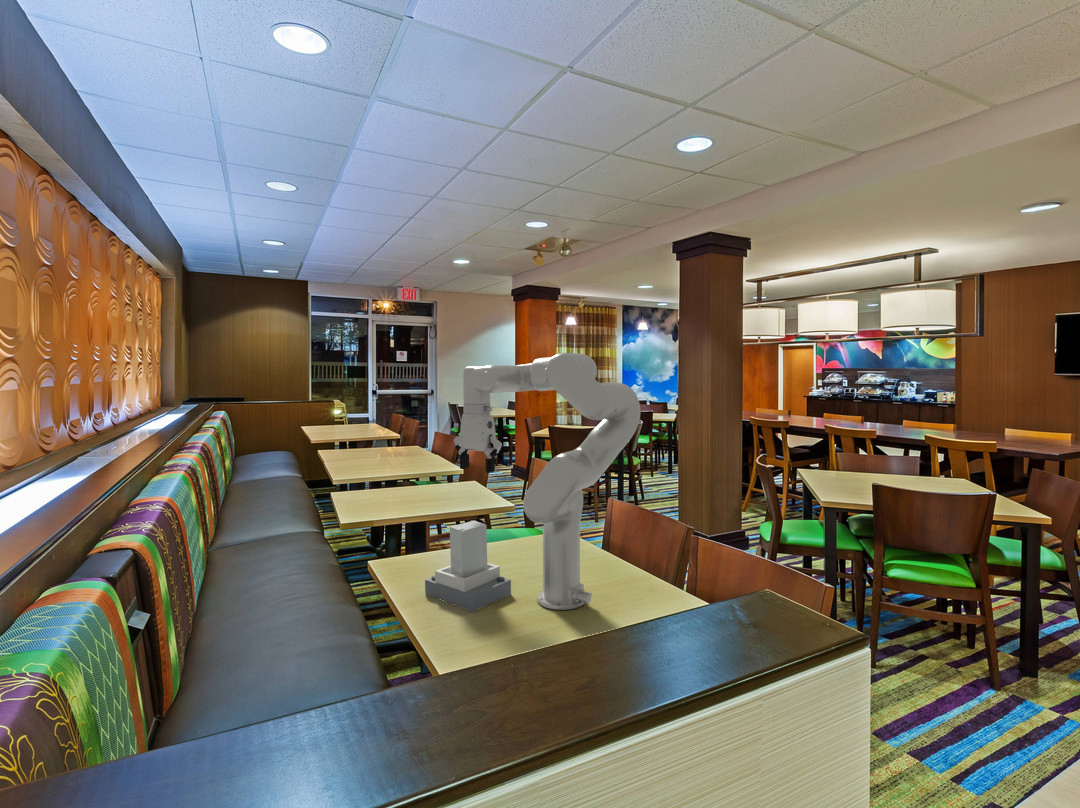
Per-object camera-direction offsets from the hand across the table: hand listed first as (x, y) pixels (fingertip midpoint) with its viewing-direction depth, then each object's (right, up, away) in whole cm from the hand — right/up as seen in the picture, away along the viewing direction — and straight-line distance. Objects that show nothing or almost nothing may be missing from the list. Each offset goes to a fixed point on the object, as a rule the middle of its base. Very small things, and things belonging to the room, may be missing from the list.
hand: (477, 470), depth 159 cm
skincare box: (-1, -28, -10) cm, 30 cm away
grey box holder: (-1, -32, -10) cm, 33 cm away
